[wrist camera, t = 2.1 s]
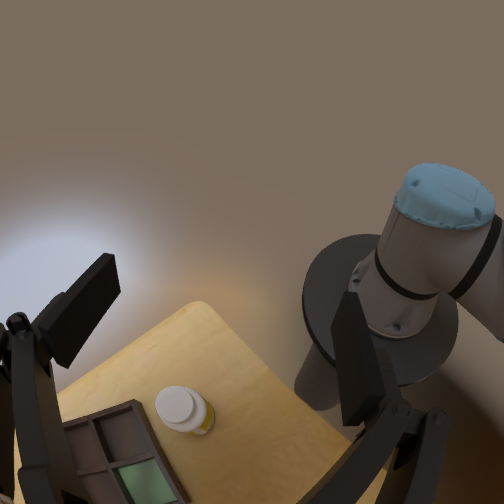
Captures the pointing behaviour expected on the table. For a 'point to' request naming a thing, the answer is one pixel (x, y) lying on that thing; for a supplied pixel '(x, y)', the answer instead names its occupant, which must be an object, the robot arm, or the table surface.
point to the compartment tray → (122, 458)
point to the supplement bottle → (184, 410)
